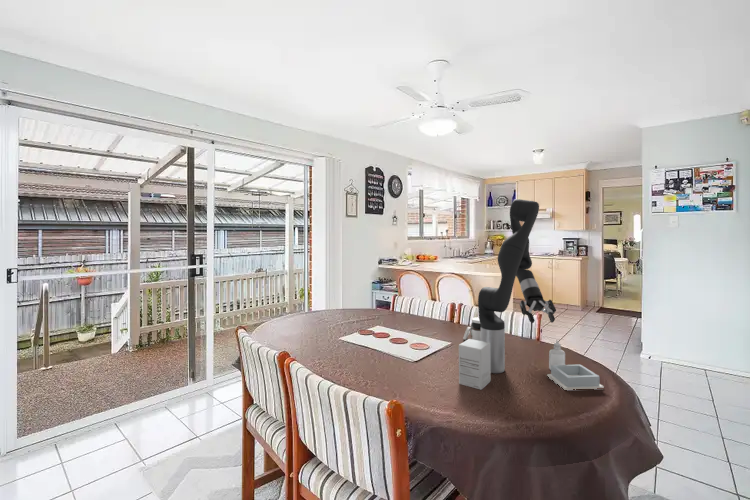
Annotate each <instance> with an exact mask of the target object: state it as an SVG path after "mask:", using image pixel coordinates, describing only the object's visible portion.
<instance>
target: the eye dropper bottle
mask: <svg viewBox="0 0 750 500" xmlns="http://www.w3.org/2000/svg"><path fill="white" fill-rule="evenodd" d="M561 346H562V344H561V343H560V342H559V340H555V342H554V343H553V348H552V349H550V350H549V352H548V354H549V355H548V369H549V370H550V371H551V365H566V352H565V351H564V350H563V349H562V348H561Z"/></svg>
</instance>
